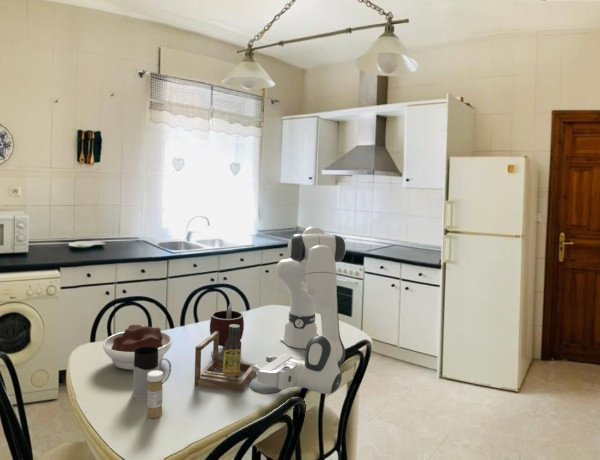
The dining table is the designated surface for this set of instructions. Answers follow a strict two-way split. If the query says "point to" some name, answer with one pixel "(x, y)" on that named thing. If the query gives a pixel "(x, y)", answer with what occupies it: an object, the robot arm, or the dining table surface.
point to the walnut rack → (218, 363)
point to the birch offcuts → (220, 376)
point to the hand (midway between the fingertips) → (260, 362)
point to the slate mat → (262, 387)
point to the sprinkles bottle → (154, 394)
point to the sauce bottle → (232, 352)
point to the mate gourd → (225, 326)
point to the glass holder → (145, 370)
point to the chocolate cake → (135, 344)
